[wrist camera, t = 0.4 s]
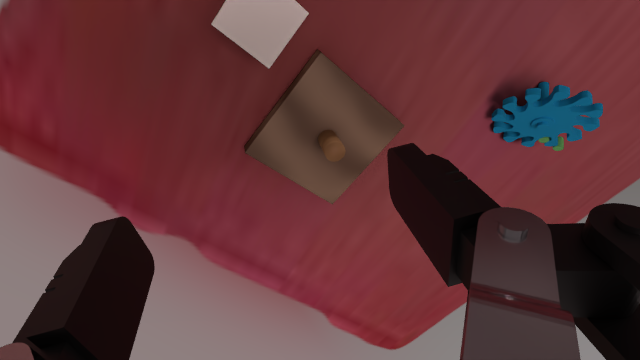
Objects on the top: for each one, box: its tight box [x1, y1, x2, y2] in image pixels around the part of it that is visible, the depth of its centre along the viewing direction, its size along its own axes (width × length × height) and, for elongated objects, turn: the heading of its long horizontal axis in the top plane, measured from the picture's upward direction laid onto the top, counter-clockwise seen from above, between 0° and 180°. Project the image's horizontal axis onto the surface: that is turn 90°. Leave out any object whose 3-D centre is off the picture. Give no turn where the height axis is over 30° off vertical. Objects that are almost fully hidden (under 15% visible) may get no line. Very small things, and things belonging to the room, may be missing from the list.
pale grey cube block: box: [211, 0, 309, 68], centre depth 26 cm, size 5×5×5 cm
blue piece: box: [491, 82, 603, 151], centre depth 37 cm, size 11×6×10 cm
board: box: [245, 49, 404, 204], centre depth 33 cm, size 12×12×5 cm
